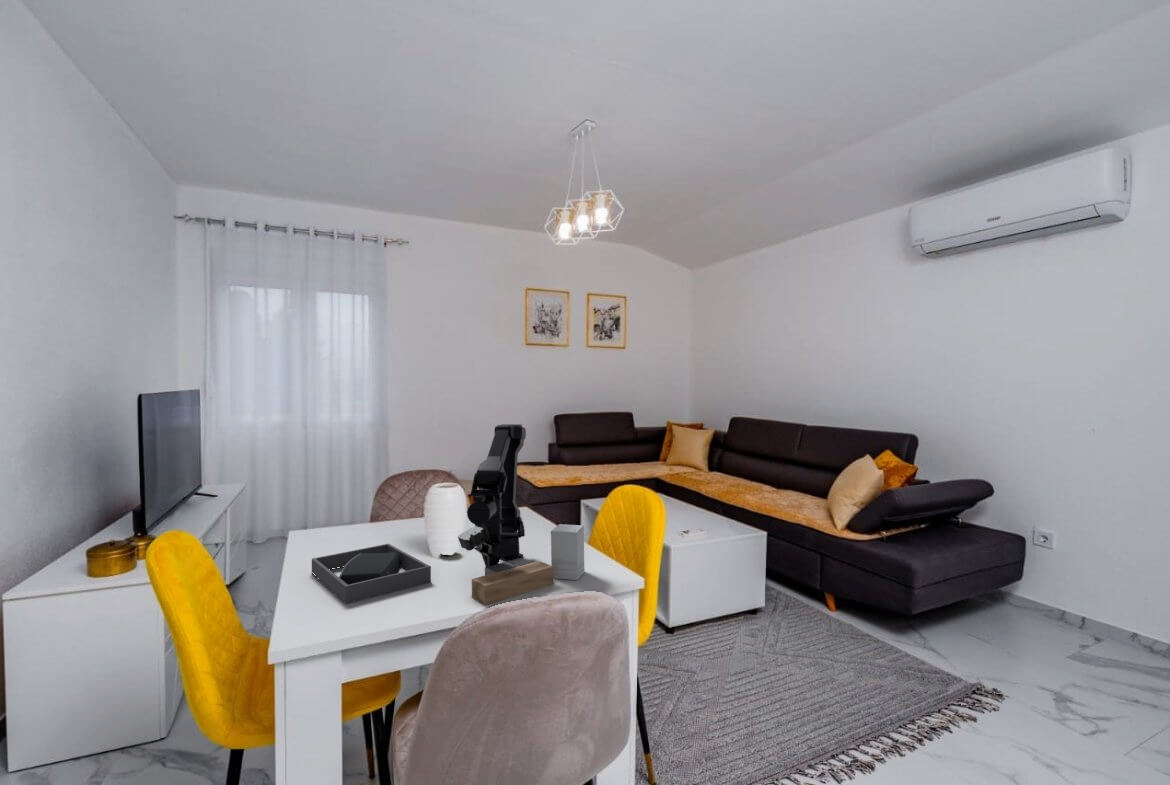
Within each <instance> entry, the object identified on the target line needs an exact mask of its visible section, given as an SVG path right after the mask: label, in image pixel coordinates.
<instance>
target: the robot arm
mask: <svg viewBox="0 0 1170 785" xmlns="http://www.w3.org/2000/svg"><path fill="white" fill-rule="evenodd" d="M526 430H527V429H526V428H525V427H523V426H522V424H519V423H513V424H511V423H510V424H509V423H506V424H505V423H504V424H498V425H495V427H494V436H493V439H492V442H491V445H490V448H489V451H488V455H487V456H486V459H484V460H483V461H482V462H481V463H480V464H479V466H478V467H477V470H476V471H475V473H474V475H473V480H472V486H471V491H470V497H474V502H472V503H471V504H470V505H469V506H468V509H467V512H466V515H467V519H468V520H469V521H470V523H471V524H473V525H474V526H473V527H470V528H469V529H466V530H465V531H463V532H461V533H460V534H459V535H457V538H458V541H459V545H460V547H461V548H462V549H465V550H466V551H472V550H475V551H477V552H478V553H479V554H480V555H481V557H482V559H483V564H484V566H485V567H488V566H492V565H496V564H499V563H500V561H501V560H502V561H504V562H507V561H510V560H514V559H518V558H522V557H524V554H523V553H520V539H521V538H522V537H525V535H526V534H525V525H524V521H523V519H522V516H521V510H520V508H519V506H518V505H517V503H516V500H517V499H516V498H517V497H516V496H517V479H518V477H517V476H518V473H517V472H518V458H519V457H518V456H519V452H520V451H521V450H522V448H523V446H524V445H525V440H526V436H527V431H526Z"/></svg>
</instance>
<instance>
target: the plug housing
mask: <svg viewBox="0 0 1170 785" xmlns="http://www.w3.org/2000/svg"><path fill="white" fill-rule="evenodd" d="M515 567H517V565H516V564H515V565H514V564H513V563H509V562H507V561H503V562H499V563H498V564H496V565H492V566H488V567H486V566H485V567H484V576H485V575H489V574H492V573H496V572H500V571H503V570H507V569H511V568H515Z"/></svg>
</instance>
